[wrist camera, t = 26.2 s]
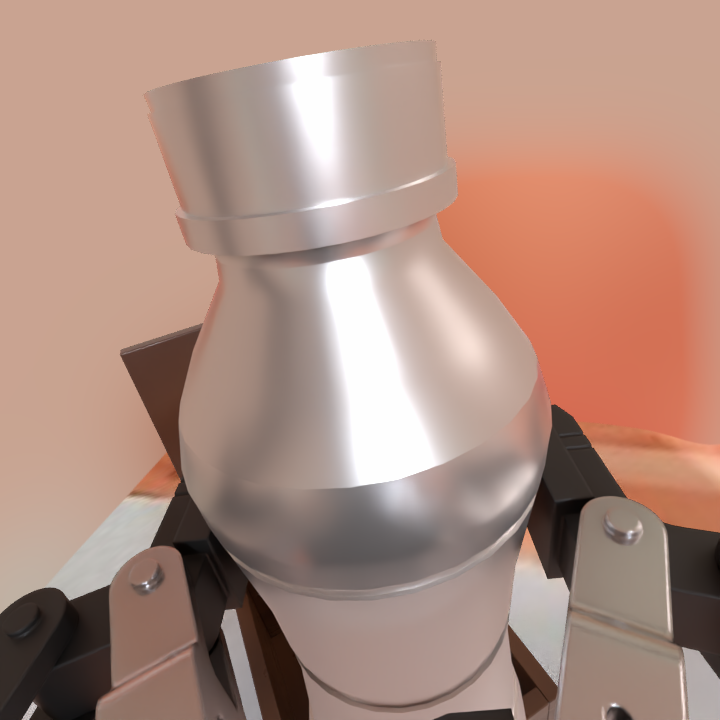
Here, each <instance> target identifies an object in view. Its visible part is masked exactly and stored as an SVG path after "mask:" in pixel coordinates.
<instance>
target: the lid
mask: <svg viewBox="0 0 720 720" xmlns="http://www.w3.org/2000/svg"><path fill="white" fill-rule="evenodd" d="M202 325H203V323H202V324H199V325H196V326H193V327H190V328H187V329H184V330H180V331H177V332H174V333H171V334H168V335H165V336H162V337H159V338H156V339H153V340H150V341H146V342H143V343H140V344H137V345H134V346H131V347H128V348H125V349H122V350H121V353H120V355H121V357H122V360H123V362H124V364H125V366H126V368H127V370H128V372H129V374H130V376H131V378H132V380H133V382H134V384H135V387H136V388H137V390H138V393H139V395H140V397H141V399H142V401H143V403H144V405H145V407H146V409H147V411H148V413H149V415H150V418H151V420H152V422H153V424H154V426H155V428H156V430H157V432H158V434H159V436H160V438H161V440H162V443H163V444H164V446H165V449H166V451H167V453H168V455H169V457H170V459H171V461H172V463H173V465H174V467H175V469H176V472H177V474H178V476H179V478H180V480H181V478H182V476H183V473H182V469H181V455H180V438H179V410H180V401H181V397H182V393H183V389H184V385H185V381H186V377H187V373H188V369H189V365H190V361H191V357H192V353H193V349H194V347H195V344H196V341H197V339H198V336H199V333H200V331H201V328H202Z"/></svg>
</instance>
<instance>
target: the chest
mask: <svg viewBox="0 0 720 720" xmlns="http://www.w3.org/2000/svg"><path fill="white" fill-rule="evenodd" d="M236 613H237V617H238V621H239V625H240V629H241V633H242V637H243V641H244V645H245V649H246V653H247V657H248V661H249V666H250V670H251V674H252V678H253V682H254V686H255V690H256V694H257V698H258V702H259V706H260V710H261V714H262V718H263V720H309V697H308V693H307V689H306V685H305V680H304V676H303V672H302V668H301V666H300V664H299V662H298V660H297V658H296V655H295V653H294V651H293V649H292V648H291V646H290V645H289V643H288V641H287V639H286V637H285V635H284V633H283V631H282V629H281V627H280V625H279V623H278V621H277V620H276V618H275V616H274V614H273V612H272V610H271V609H270V608H269V606H268V605H267V604H266V602H265V601H264V600H263V598H262V597H261V596H260V594H259V593H258V592H257V590H256V589H255V588H254V586H253V585H252V584H251V582H250V581H249V580H248V583H247V588H246V592H245V597H244V602H243V606H242V608H238V609H236ZM508 636H509V645H510V653H511V661H512V664H513V667H514V670H515V673H516V675H517V678H518V681H519V684H520V689H521V694H522V699H523V704H524V710H525V716H526V720H554V713H555V705H556V697H557V690H558V687H557V685H556V684H555V683H554V682H553V680H552V679H551V678H550V676H549V675H548V674H547V673H546V671H545V670H544V669H543V668H542V666H541V665H540V664H539V663H538V661H537V660H536V659H535V658H534V656H533V655H532V654H531V652H530V651H529V650H528V649H527V647H526V646H525V645H524V644H523V642H522V641H521V640H520V639H519V637H518V636H517V635H516V634H515V632H514V631H513V630H512V628H511V627H510V626H509V625H508Z"/></svg>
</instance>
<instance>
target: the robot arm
mask: <svg viewBox="0 0 720 720" xmlns="http://www.w3.org/2000/svg"><path fill="white" fill-rule="evenodd" d="M551 414H552V428H551V433H550V438H549V443H548V450H547V456H546V462H545V467H544V471H543V474H542V478H541V481H540V485H539V488H538V491H537V493H536V497H535V500H534V503H533V507H532V510H531V514H530V517H529V521H528V524H527V528H528V530H529V533H530V535H531V538H532V540H533V543H534V545H535V548H536V550H537V553H538V556H539V558H540V561H541V563H542V566H543V568H544V571H545V573H546V576H547V579H552V578H562V577H564V580H565V582H566V585H567V587H568V589H569V592H570V596H569V603H568V611H567V619H566V627H565V635H564V643H563V650H562V658H561V666H560V674H559V682H558V690H557V697H556V705H555V713H554V720H689V713H688V699H687V685H686V671H685V661H684V655H683V650H682V647H685V648H689V649H694V650H698V651H700V653H701V654H702V655H703V657H704V658H705V660H706V661H707V662H708V664H709V665H710V666H711V668H712V669H713V671H714V672H715V673H716V675H717V676H718V677H719V679H720V533H718V532H711V531H704V530H698V529H691V528H684V527H679V526H674V525H670V524H667V523H664V522H662V521H661V520H660V519H659V517H658V516H657V515H656V514H655V513H653V512H652V511H651V510H650V509H648V508H647V507H645V506H644V505H642V504H640V503H638V502H635V501H633V500H630V499H628V498H627V497H626V496H625V494H624V493H623V491H622V490H621V488H620V487H619V485H618V484H617V482H616V481H615V479H614V478H613V476H612V475H611V473H610V472H609V470H608V469H607V467H606V466H605V464H604V463H603V461H602V460H601V458H600V457H599V455H598V454H597V452H596V451H595V449H594V448H592V446H591V443H590V442H589V440H588V439H587V437H586V436H585V435H583V431H582V430H581V428H580V427H579V425H578V424H577V422H576V421H575V419H574V418H573V417H572V416H571V415H570V414H568V413H567V412H565V411H564V410H562V409H561V408H560V407H558V406H557V405H551ZM247 583H248V578H247V577H246V576H245V574H244V573H243V572H242V570H241V569H240V568H239V566H238V565H237V564H236V562H235V561H234V560H233V558H232V557H231V556H230V554H229V553H228V551H227V550H226V549H224V547H223V546H222V544H221V543H220V542H219V540H218V539H217V537H216V536H215V535H214V533H213V532H212V531H211V529H210V528H209V526H208V525H207V523H206V521H205V519H204V518H203V516H202V514H201V512H200V510H199V509H198V507H197V505H196V504H195V502H194V500H193V499H192V497H191V496H190V494H189V492H188V490H187V486H186V483H185V480H184V476H182V478H181V483H179V485H178V487H177V489H176V491H175V497H173V498H172V500H171V502H170V505H169V507H168V509H167V511H166V513H165V516H164V518H163V520H162V522H161V525H160V527H159V529H158V531H157V533H156V536H155V538H154V540H153V542H152V544H151V547H150V548H149V549H146V550H144V551H142V552H140V553H138V554H137V555H135V556H134V557H132V558H131V559H130V560H129V561H127V562H126V563H125V564H124V565H123V566H122V567H121V569H120V570H119V571H118V572H117V574H116V575H115V577H114V579H113V581H112V583H111V584H110V585H108V586H106V587H103V588H101V589H98V590H96V591H93V592H91V593H88V594H86V595H83V596H80V597H78V598H75V599H73V600H70V601H69V599H68V598H67V597H66V596H65V595H64V593H63V592H62V591H60V590H59V589H56V588H43V589H39V590H36V591H33V592H31V593H29V594H27V595H25V596H23V597H22V598H20V599H18V600H17V601H15V602H14V603H13V604H11V605H10V606H9V607H8V608H6V609H5V610H4V611H3V612H2V613H1V614H0V720H22V718H23V716H24V715H25V713H26V711H27V710H28V708H29V707H30V705H31V703H32V702H34V703H35V704H36V705H37V708H36V710H35V711H34V713H33V715H32V716H31V718H30V720H247V719H246V716H245V713H244V710H243V706H242V702H241V698H240V694H239V690H238V686H237V683H236V679H235V675H234V671H233V667H232V663H231V659H230V656H229V652H228V648H227V644H226V640H225V636H224V633H223V630H222V629H221V623H222V619H223V615H224V611H225V610H228V609H238V608H242V606H243V602H244V597H245V592H246V588H247ZM433 720H514V717H513V713H512V709H511V708H507V709H495V710H482V711H470V712H457V713H447V714H445V715H443V716H440V717H438V718H435V719H433Z"/></svg>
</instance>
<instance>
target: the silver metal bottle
mask: <svg viewBox="0 0 720 720" xmlns="http://www.w3.org/2000/svg"><path fill="white" fill-rule="evenodd" d="M144 97H145V99H146V102H147V104H148V106H149V109H150V111H151V113H150V114H148V118H149V120H150V123H151V126H152V128H153V131H154V134H155V136H156V139H157V142H158V145H159V147H160V150H161V153H162V155H163V158H164V161H165V164H166V167H167V170H168V172H169V175H170V178H171V181H172V183H173V186H174V189H175V192H176V194H177V197H178V200H179V203H180V205H181V206H180V207H179V208H177V209H176V212H175V215H176V218H177V221H178V223H179V226H180V229H181V231H182V234H183V237H184V239H185V242H186V245H187V246H188V247H189V248H190V249H191V250H194V251H197V252H200V253H204V254H212V255H215V258H216V263H217V269H218V275H219V283H218V286H217V289H216V291H215V294H214V296H213V299H212V301H211V304H210V307H209V309H208V312H207V315H206V318H205V320H204V323H203V325H202V328H201V331H200V333H199V336H198V339H197V341H196V344H195V347H194V349H193V353H192V357H191V361H190V365H189V369H188V373H187V377H186V381H185V385H184V389H183V393H182V397H181V401H180V410H179V438H180V455H181V469H182V473H183V476H184V480H185V483H186V486H187V490H188V492H189V494H190V496H191V497H192V499H193V500H194V502H195V504H196V505H197V507H198V509H199V510H200V512H201V514H202V516H203V518H204V519H205V521H206V523H207V525H208V526H209V528H210V529H211V531H212V532H213V533H214V535H215V536H216V537H217V539H218V540H219V542H220V543H221V544H222V546H223V547H224V549H226V550H227V551H228V553H229V554H230V556H231V557H232V558H233V560H234V561H235V562H236V564H237V565H238V566H239V568H240V569H241V570H242V572H243V573H244V574H245V576H246V577H247V578H248V580H249V581H250V582H251V584H252V585H253V586H254V588H255V589H256V590H257V592H258V593H259V594H260V596H261V597H262V598H263V600H264V601H265V602H266V604H267V605H268V606H269V608H270V609H271V610H272V612H273V614H274V616H275V618H276V620H277V621H278V623H279V625H280V627H281V629H282V631H283V633H284V635H285V637H286V639H287V641H288V643H289V645H290V646H291V648H292V649H293V651H294V653H295V655H296V658H297V660H298V662H299V664H300V666H301V668H302V672H303V676H304V680H305V685H306V689H307V693H308V697H309V720H433V719H435V718H438V717H440V716H443V715H445V714H447V713H457V712H470V711H482V710H495V709H507V708H511V709H512V713H513V717H514V720H526V716H525V710H524V704H523V699H522V694H521V689H520V684H519V681H518V678H517V675H516V673H515V670H514V667H513V664H512V661H511V653H510V645H509V636H508V621H509V610H510V605H511V597H512V589H513V581H514V573H515V565H516V562H517V559H518V555H519V552H520V548H521V545H522V541H523V538H524V534H525V531H526V528H527V524H528V521H529V517H530V514H531V510H532V507H533V503H534V500H535V497H536V493H537V491H538V488H539V485H540V481H541V478H542V474H543V471H544V467H545V462H546V456H547V450H548V443H549V438H550V433H551V428H552V414H551V401H550V398H549V395H548V391H547V388H546V384H545V381H544V378H543V375H542V371H541V368H540V365H539V362H538V358H537V355H536V353H535V351H534V349H533V346H532V344H531V342H530V340H529V338H528V337H527V336H526V335H525V333H524V332H523V330H522V329H521V328H520V327H519V325H518V324H517V323H516V321H515V320H514V319H513V317H512V316H511V315H510V313H509V312H508V311H507V309H506V308H505V307H504V305H503V304H502V303H501V301H500V300H499V299H498V297H497V296H496V295H495V294H494V293H493V292H492V291H491V290H490V289H489V287H488V286H487V285H486V284H485V283H484V282H483V281H482V280H481V279H480V278H479V277H478V276H477V275H476V274H475V273H474V272H473V271H472V270H471V269H470V268H469V266H468V265H467V264H466V263H465V262H464V261H463V260H462V259H461V258H460V257H459V256H458V255H457V254H456V253H455V252H454V251H453V250H452V248H451V247H449V245H448V244H447V243H446V242H445V241H444V240H443V239H442V235H441V232H440V227H439V223H438V220H437V216H436V213H438V212H440V211H442V210H444V209H445V208H446V207H448V206H449V205H450V204H452V203H453V202H454V201H455V199H456V197H457V195H458V191H457V175H456V162H455V160H454V159H453V158H451V157H448V156H447V145H446V132H445V118H444V103H443V90H442V75H441V62H440V61H437V59H436V41H432V40H418V41H407V42H396V43H388V44H380V45H373V46H365V47H358V48H351V49H344V50H338V51H332V52H326V53H320V54H314V55H307V56H302V57H296V58H291V59H285V60H280V61H274V62H269V63H264V64H259V65H254V66H249V67H243V68H239V69H234V70H229V71H224V72H220V73H215V74H210V75H206V76H202V77H197V78H193V79H189V80H185V81H181V82H177V83H173V84H170V85H166V86H163V87H160V88H156V89H153V90H151V91H148V92H146V93H145V94H144Z"/></svg>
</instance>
